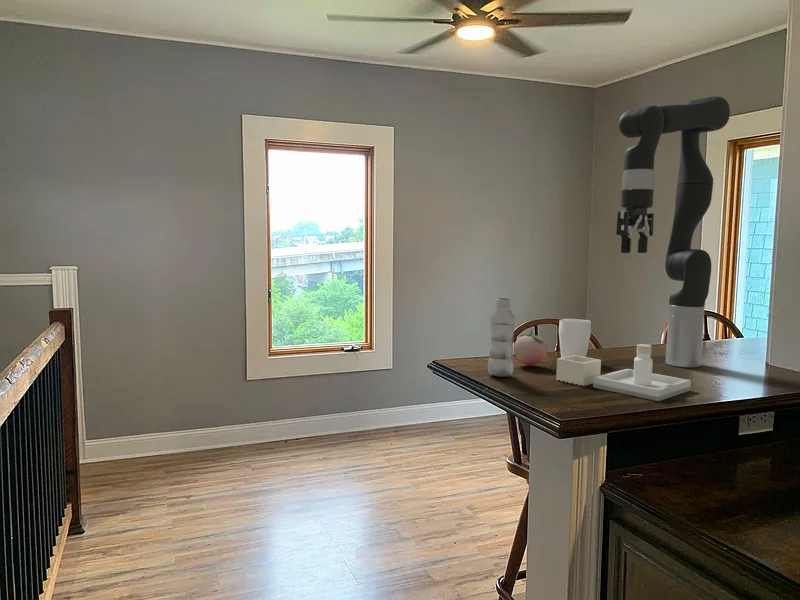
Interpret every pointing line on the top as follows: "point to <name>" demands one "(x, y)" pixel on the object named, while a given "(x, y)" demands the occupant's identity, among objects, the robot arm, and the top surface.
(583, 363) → the holder
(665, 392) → the tray
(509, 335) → the plastic bottle
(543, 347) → the decorative fruit
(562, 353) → the cup
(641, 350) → the pepper shaker
